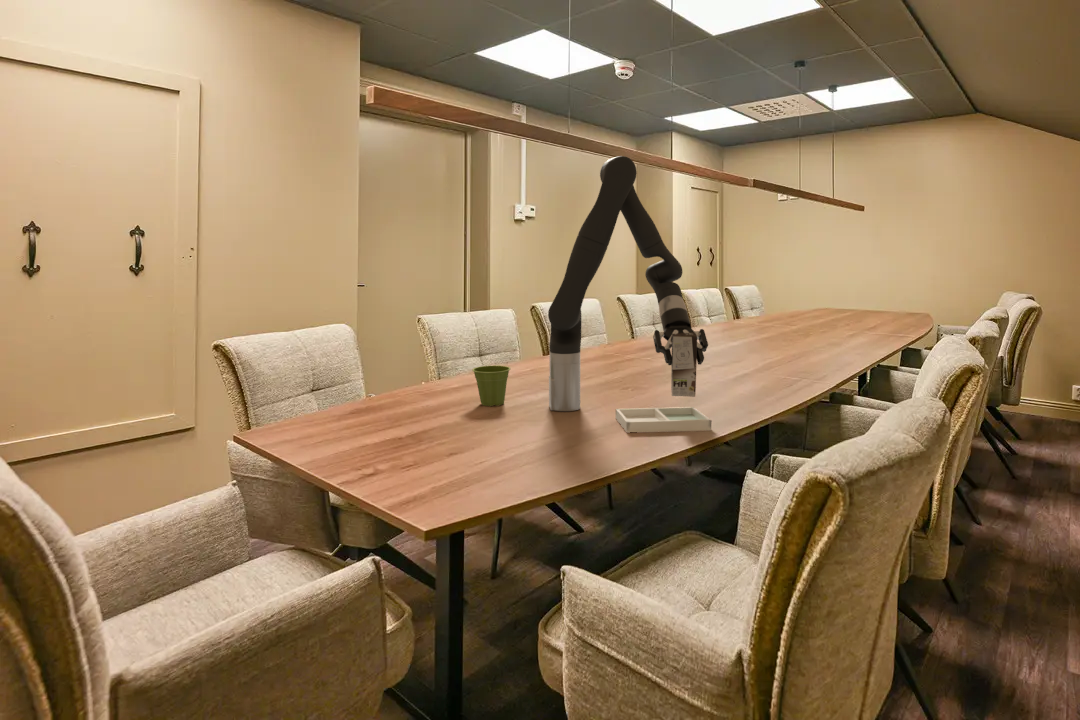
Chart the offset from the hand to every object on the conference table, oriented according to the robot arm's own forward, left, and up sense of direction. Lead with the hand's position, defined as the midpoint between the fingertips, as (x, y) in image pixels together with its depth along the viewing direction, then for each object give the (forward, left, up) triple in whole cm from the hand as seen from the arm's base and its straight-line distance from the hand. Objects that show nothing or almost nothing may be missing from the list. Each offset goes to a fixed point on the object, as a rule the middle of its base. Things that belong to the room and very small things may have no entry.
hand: (685, 363), depth 162 cm
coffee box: (0, +3, -9) cm, 9 cm away
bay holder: (-5, +2, -17) cm, 18 cm away
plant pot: (-51, +31, -17) cm, 63 cm away
